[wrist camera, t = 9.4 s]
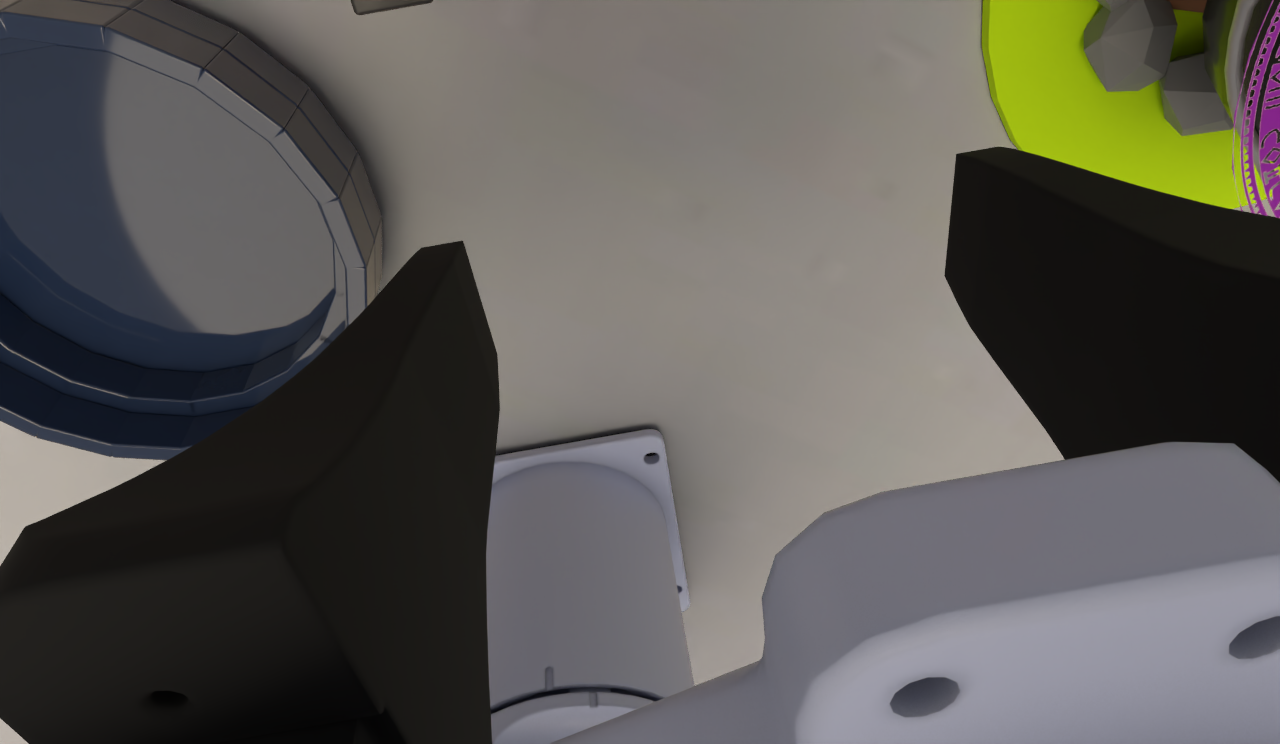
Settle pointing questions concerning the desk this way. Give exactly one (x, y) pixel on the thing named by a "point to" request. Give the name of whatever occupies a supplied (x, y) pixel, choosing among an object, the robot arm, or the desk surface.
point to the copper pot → (383, 5)
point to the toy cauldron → (1144, 91)
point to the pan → (165, 225)
